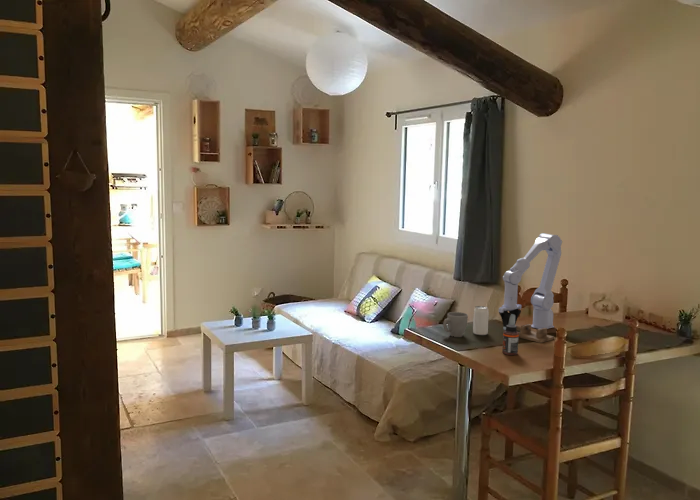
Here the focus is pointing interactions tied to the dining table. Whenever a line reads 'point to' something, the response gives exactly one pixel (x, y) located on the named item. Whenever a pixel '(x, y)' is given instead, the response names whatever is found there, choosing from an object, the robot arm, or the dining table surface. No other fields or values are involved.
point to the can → (480, 320)
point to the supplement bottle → (510, 340)
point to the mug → (456, 323)
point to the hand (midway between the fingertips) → (509, 325)
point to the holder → (534, 334)
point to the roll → (511, 320)
